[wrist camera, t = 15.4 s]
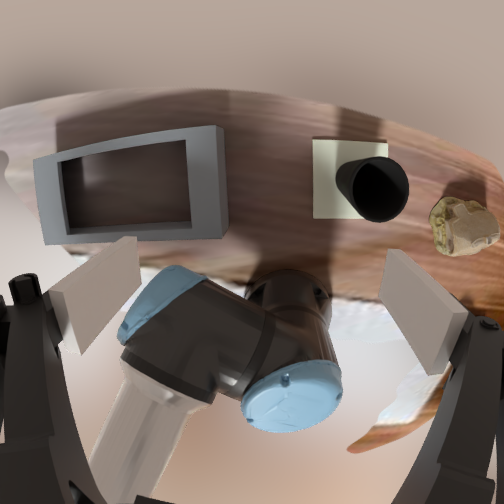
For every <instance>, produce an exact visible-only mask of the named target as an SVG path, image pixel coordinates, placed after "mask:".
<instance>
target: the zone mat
mask: <svg viewBox="0 0 504 504" xmlns="http://www.w3.org/2000/svg"><path fill="white" fill-rule="evenodd" d="M312 151H313V219H365V218H363V217H362V216H360V215H359V214H358V212H357V211H356V210H355V209H354V208H353V207H352V205H351V204H350V203H349V202H348V200H347V199H346V198H345V197H344V196H343V194H342V193H341V192H340V191H339V190H338V188H337V186H336V182H335V177H336V172H337V170H338V169H339V167H340V166H341V165H343V164H344V163H346V162H350V161H354V160H359V159H364V158H369V157H376V156H382V157H387V158H388V144H387V143H375V142H361V141H342V140H312Z"/></svg>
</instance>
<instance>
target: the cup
mask: <svg viewBox="0 0 504 504" xmlns="http://www.w3.org/2000/svg"><path fill="white" fill-rule="evenodd" d="M335 182H336V186H337V188H338V190H339V191H340V192H341V193H342V194H343V196H344V197H345V198H346V199H347V200H348V202H349V203H350V204H351V205H352V207H353V208H354V209H355V210H356V211H357V212H358V214H359V215H360V216H362V217H363V218H365V219H366V220H369V221H372V222H378V223H381V222H387V221H389V220H391V219H394V218H395V217H396V216H397V215H399V214H400V212H401V211H402V210H403V209H404V207H405V205H406V203H407V200H408V196H409V183H408V178H407V176H406V174H405V172H404V170H403V169H402V167H401V166H400V165H399V164H398V163H396V162H395V161H394V160H392V159H390V158H387V157H382V156H376V157H369V158H364V159H359V160H354V161H350V162H346V163H344V164H343V165H341V166H340V167H339V169H338V170H337V172H336V177H335Z"/></svg>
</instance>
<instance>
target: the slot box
mask: <svg viewBox="0 0 504 504" xmlns="http://www.w3.org/2000/svg"><path fill="white" fill-rule="evenodd" d="M179 140H186V154H187V170H188V184H189V197H190V209H191V220H192V221H180V222H160V223H142V224H125V225H110V226H96V227H83V228H70V227H69V222H68V216H67V209H66V202H65V194H64V186H63V177H62V166H61V161H65V160H70V159H74V158H78V157H83V156H87V155H92V154H97V153H102V152H107V151H112V150H118V149H123V148H129V147H135V146H141V145H148V144H155V143H163V142H170V141H179ZM33 168H34V179H35V188H36V196H37V203H38V210H39V216H40V222H41V227H42V232H43V238H44V242H45V245H61V244H83V243H107V242H116V241H118V240H119V239H121V238H122V237H124V236H136V237H137V241H162V240H194V239H222V238H223V236H224V235H225V233H226V231H227V229H228V227H229V215H228V198H227V180H226V161H225V140H224V129H223V128H221V127H219V126H217V125H210V126H200V127H190V128H182V129H174V130H166V131H159V132H152V133H146V134H140V135H134V136H129V137H123V138H118V139H113V140H108V141H103V142H99V143H94V144H90V145H86V146H81V147H77V148H73V149H69V150H66V151H62V152H58V153H55V154H51V155H48V156H44V157H41V158H38V159H34V160H33Z"/></svg>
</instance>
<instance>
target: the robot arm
mask: <svg viewBox="0 0 504 504" xmlns="http://www.w3.org/2000/svg"><path fill="white" fill-rule="evenodd" d="M8 284H9V288H10V291H11V295H12V298H13V301H14V306H6V305H5V302H4V299H3V296H2V295H0V432H1V427H2V423H3V418H4V435H5V443H1V444H0V504H174V503H169V502H164V501H160V500H156V499H152V498H151V497H152V495H153V493H154V491H155V489H156V487H157V485H158V483H159V481H160V479H161V477H162V475H163V473H164V471H165V469H166V467H167V465H168V463H169V461H170V459H171V457H172V454H173V452H174V450H175V448H176V446H177V444H178V442H179V440H180V438H181V436H182V434H183V432H184V430H185V428H186V426H187V423H188V422H189V420H190V417H191V415H192V414H193V413H194V412H195V411H198V410H201V409H204V408H208V407H210V406H211V405H212V403H213V401H214V398H215V396H216V394H217V393H218V392H219V393H221V394H224V395H226V396H228V397H231V398H233V399H236V400H238V401H241V411H242V412H243V415H244V417H245V418H246V419H247V422H248V423H250V424H251V425H252V426H254V427H256V428H258V429H261V430H264V431H269V432H275V433H285V432H294V431H298V430H301V429H306V428H309V427H312V426H313V425H316V424H318V423H320V422H321V421H323V420H324V419H326V418H327V417H328V416H329V415H331V414H332V413H333V412H334V411H335V409H336V408H337V406H338V405H339V403H340V401H341V398H342V393H343V388H342V382H341V370H340V367H339V365H338V362H337V359H336V355H335V352H334V349H333V345H332V342H331V338H330V335H329V332H328V329H329V325H330V321H331V317H332V306H331V301H330V298H329V296H328V293H327V291H326V289H325V287H324V286H323V285H322V284H321V282H320V281H318V280H317V279H316V278H315V277H313V276H311V275H310V274H307V273H305V272H302V271H298V270H279V271H275V272H272V273H269V274H267V275H265V276H263V277H261V278H260V279H259V280H257V281H256V282H255V283H254V284H253V285H252V286H251V288H250V289H249V290H248V292H247V294H246V296H245V299H244V298H243V297H241V296H239V295H237V294H235V293H233V292H231V291H229V290H227V289H226V288H224V287H222V286H220V285H218V284H216V283H214V282H213V281H211V280H209V278H208V277H207V276H202V275H199V274H197V273H195V272H193V271H191V270H189V269H187V268H185V267H183V266H180V265H172V266H169V267H166V268H165V269H163V270H162V271H161V272H159V273H158V274H157V275H156V276H155V277H154V278H153V279H152V280H151V281H150V282H149V284H148V285H147V286H146V287H145V288H144V290H143V291H142V292H141V293H140V295H139V296H138V297H137V299H136V300H135V302H134V303H133V304H132V306H131V307H130V309H129V311H128V312H127V314H126V316H125V319H124V321H123V323H122V324H121V326H120V327H119V329H118V333H117V339H118V340H119V341H120V343H121V345H123V346H125V345H126V347H125V349H124V351H123V353H122V355H121V358H120V359H119V360H120V364H121V367H122V370H123V373H124V381H123V383H122V386H121V388H120V390H119V392H118V394H117V396H116V398H115V400H114V403H113V405H112V407H111V409H110V411H109V413H108V415H107V418H106V420H105V422H104V424H103V426H102V429H101V431H100V433H99V436H98V438H97V440H96V442H95V444H94V447H93V449H92V452H91V454H90V456H89V459H88V461H87V459H86V456H85V453H84V450H83V447H82V444H81V441H80V437H79V434H78V431H77V428H76V424H75V420H74V417H73V412H72V409H71V404H70V401H69V396H68V391H67V386H66V382H65V376H64V371H63V365H62V360H61V352H60V350H59V347H58V344H59V343H60V342H61V341H62V340H63V342H64V345H65V347H66V350H67V352H70V353H73V354H77V355H82V354H83V353H84V352H85V351H86V349H87V348H88V347H89V345H90V344H91V343H92V342H93V341H94V340H95V338H96V337H97V336H98V335H99V333H100V332H101V331H102V330H103V329H104V327H105V326H106V325H107V324H108V323H109V321H110V320H111V319H112V318H113V317H114V315H115V314H116V313H117V312H118V311H119V310H120V308H121V307H122V306H123V305H124V304H125V303H126V301H127V300H128V299H129V298H130V297H131V296H132V295H133V293H134V292H135V291H136V290H137V289H138V288H139V287H140V285H141V284H142V282H141V274H140V265H139V256H138V245H137V237H136V236H124V237H122V238H121V239H119V240H118V241H116V242H115V243H113V244H112V245H110V246H109V247H107V248H106V249H104V250H103V251H101V252H100V253H98V254H97V255H95V256H94V257H92V258H91V259H90V260H88V261H87V262H85V263H84V264H82V265H81V266H80V267H78V268H77V269H75V270H74V271H73V272H71V273H70V274H69V275H67V276H66V277H64V278H63V279H62V280H60V281H59V282H58V283H57V284H55V285H54V286H52V287H51V288H50V289H49V290H48V291H46V292H45V293H43V294H42V293H41V289H40V285H39V281H38V277H37V275H36V274H34V273H28V274H22V275H19V276H17V277H15V278H13V279H12V280H10V282H9V283H8ZM379 298H380V299H381V301H382V302H383V304H384V305H385V307H386V308H387V310H388V311H389V313H390V314H391V316H392V318H393V319H394V321H395V322H396V324H397V325H398V327H399V328H400V330H401V332H402V333H403V335H404V336H405V338H406V340H407V341H408V343H409V345H410V346H411V348H412V349H413V351H414V353H415V354H416V356H417V358H418V359H419V361H420V363H421V365H422V366H423V368H424V370H425V371H426V373H427V375H428V376H429V375H436V374H442V373H443V372H444V370H445V368H446V366H447V364H448V362H449V361H450V362H451V364H452V365H453V369H452V371H451V373H450V375H449V377H448V378H447V380H446V382H445V384H444V386H443V388H442V389H445V390H444V393H443V396H442V399H441V402H440V405H439V407H438V410H437V413H436V415H435V418H434V420H433V423H432V425H431V428H430V430H429V432H428V435H427V437H426V439H425V441H424V444H423V446H422V448H421V450H420V452H419V454H418V456H417V459H416V461H415V463H414V464H413V466H412V468H411V470H410V472H409V474H408V476H407V478H406V479H405V481H404V483H403V485H402V487H401V488H400V490H399V492H398V493H397V495H396V497H395V498H394V500H393V502H392V503H391V504H491V501H492V498H493V494H494V490H495V482H494V480H492V479H489V478H486V476H487V471H488V467H489V463H490V458H491V454H492V449H493V444H494V439H495V434H496V449H497V491H496V504H504V331H502V329H501V326H500V325H499V324H498V323H497V322H496V321H494V320H493V319H491V318H489V317H485V316H477V317H475V316H474V315H473V314H472V313H471V312H470V311H469V310H468V309H467V308H466V307H465V306H464V305H463V304H462V303H461V302H460V301H458V299H457V298H456V297H455V296H454V295H453V294H451V293H449V292H448V291H447V290H446V289H445V288H443V287H442V286H441V285H440V284H439V283H438V282H437V281H436V280H435V279H434V278H433V277H431V276H430V275H429V274H428V273H427V272H426V271H425V270H424V269H423V268H421V267H420V266H419V265H418V264H417V263H416V262H415V261H413V260H412V259H411V258H410V257H409V256H408V255H406V254H405V253H404V252H403V251H402V250H400V249H388V252H387V257H386V263H385V268H384V273H383V278H382V283H381V287H380V292H379Z"/></svg>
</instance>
